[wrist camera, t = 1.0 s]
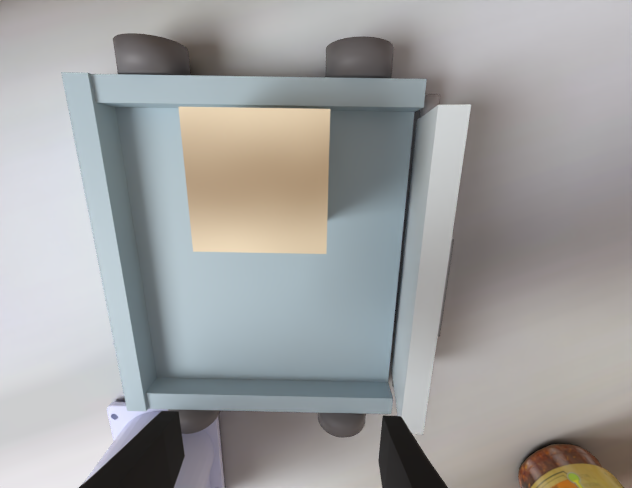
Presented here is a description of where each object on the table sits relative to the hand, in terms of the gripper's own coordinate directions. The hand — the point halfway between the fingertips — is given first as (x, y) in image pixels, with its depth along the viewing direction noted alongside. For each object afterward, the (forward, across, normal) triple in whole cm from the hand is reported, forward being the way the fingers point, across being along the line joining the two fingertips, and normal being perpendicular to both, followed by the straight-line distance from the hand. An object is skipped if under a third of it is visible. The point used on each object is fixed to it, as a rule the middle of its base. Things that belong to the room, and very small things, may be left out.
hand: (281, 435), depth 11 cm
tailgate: (+9, -7, -4) cm, 12 cm away
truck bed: (+10, +2, -4) cm, 11 cm away
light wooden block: (+8, +1, -8) cm, 12 cm away
